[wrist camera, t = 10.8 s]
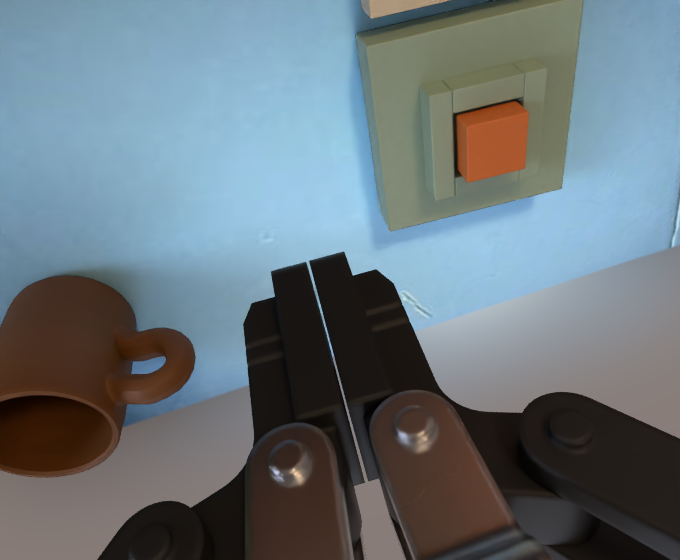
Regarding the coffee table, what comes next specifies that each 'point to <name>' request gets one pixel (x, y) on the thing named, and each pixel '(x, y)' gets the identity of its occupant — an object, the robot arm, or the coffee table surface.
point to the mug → (76, 374)
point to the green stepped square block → (466, 102)
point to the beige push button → (393, 6)
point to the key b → (492, 141)
